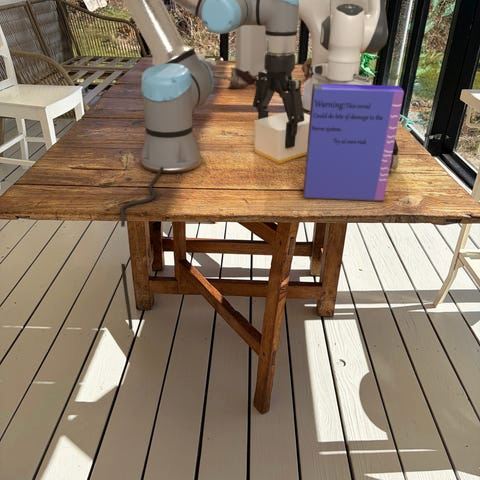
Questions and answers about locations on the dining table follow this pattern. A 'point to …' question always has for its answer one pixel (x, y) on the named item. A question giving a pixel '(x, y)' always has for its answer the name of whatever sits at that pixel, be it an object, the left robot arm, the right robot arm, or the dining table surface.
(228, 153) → the dining table surface
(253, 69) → the white block
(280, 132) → the cabinet
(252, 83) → the figurine
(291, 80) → the left robot arm
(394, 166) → the figurine character
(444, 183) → the dining table surface
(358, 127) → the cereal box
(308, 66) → the anatomical model
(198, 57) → the toy
